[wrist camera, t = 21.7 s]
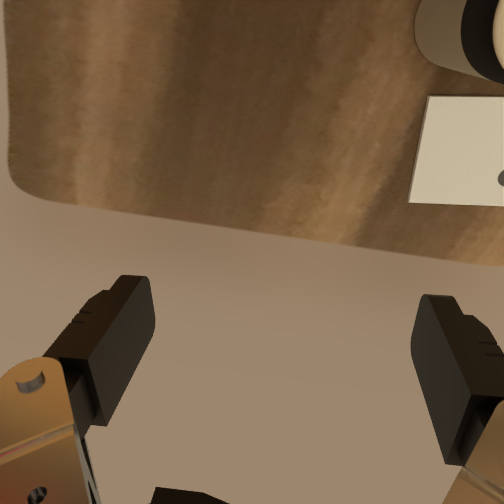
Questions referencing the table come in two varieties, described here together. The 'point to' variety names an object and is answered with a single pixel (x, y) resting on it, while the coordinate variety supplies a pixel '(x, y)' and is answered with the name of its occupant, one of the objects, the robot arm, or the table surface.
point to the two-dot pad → (460, 152)
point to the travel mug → (463, 36)
